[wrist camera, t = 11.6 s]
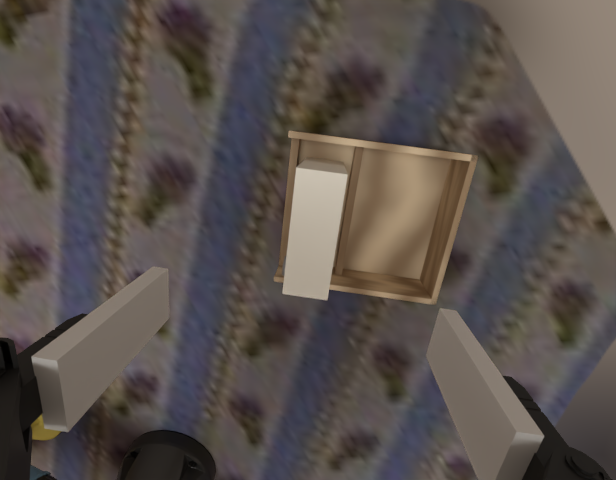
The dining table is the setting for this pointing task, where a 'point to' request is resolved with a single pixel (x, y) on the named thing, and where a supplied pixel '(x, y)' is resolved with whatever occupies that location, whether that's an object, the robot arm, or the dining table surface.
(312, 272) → the plain off-white rectangular block
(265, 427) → the dining table surface
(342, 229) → the cabinet carcass
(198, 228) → the dining table surface
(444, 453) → the dining table surface
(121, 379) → the dining table surface
